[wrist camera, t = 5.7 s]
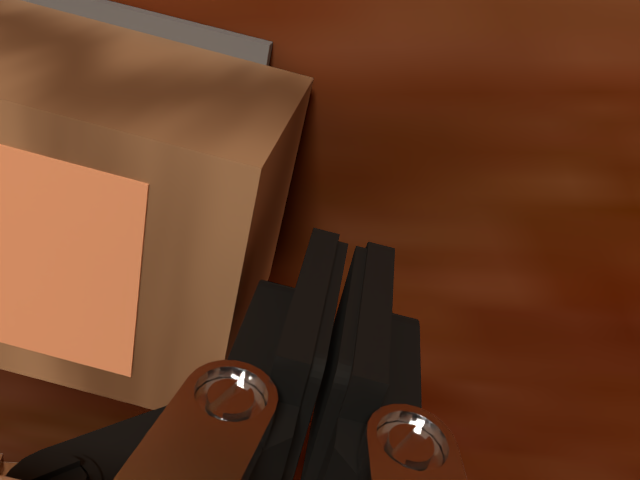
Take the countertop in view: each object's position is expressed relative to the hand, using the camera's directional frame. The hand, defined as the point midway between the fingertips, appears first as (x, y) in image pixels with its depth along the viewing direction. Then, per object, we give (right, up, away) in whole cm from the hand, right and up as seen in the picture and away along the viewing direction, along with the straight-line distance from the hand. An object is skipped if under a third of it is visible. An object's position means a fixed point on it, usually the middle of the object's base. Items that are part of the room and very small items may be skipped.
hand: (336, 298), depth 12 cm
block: (-2, +1, +1) cm, 2 cm away
